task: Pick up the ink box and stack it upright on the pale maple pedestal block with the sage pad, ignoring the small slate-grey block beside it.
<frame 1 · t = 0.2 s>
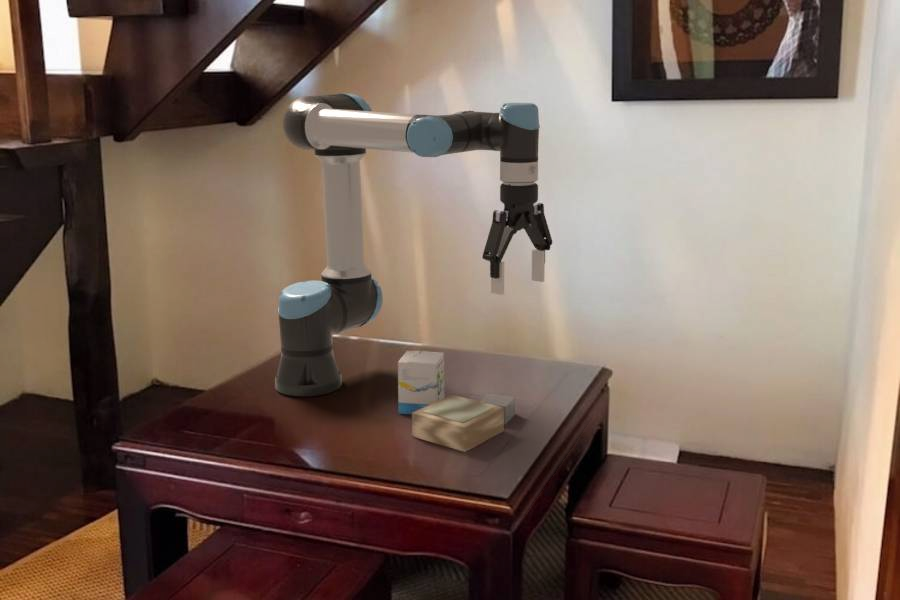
hand: (518, 287, 202), 27 cm above the table, fingers open, 13 cm apart
pedestal: (458, 433, 199), on the table
ink box: (421, 409, 213), on the table
slate block: (496, 418, 207), on the table
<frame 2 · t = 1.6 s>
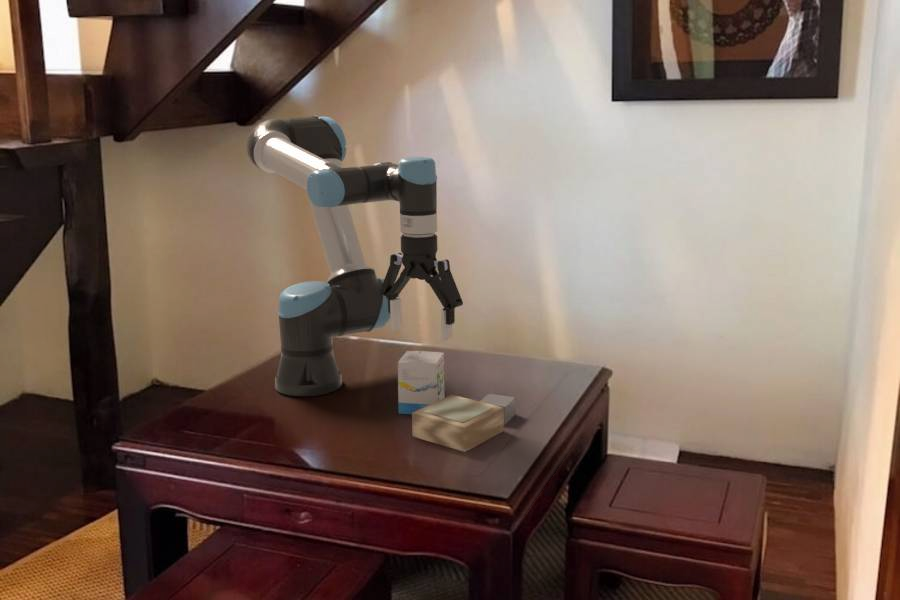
hand: (421, 334, 209), 17 cm above the table, fingers open, 13 cm apart
nothing on the table moved.
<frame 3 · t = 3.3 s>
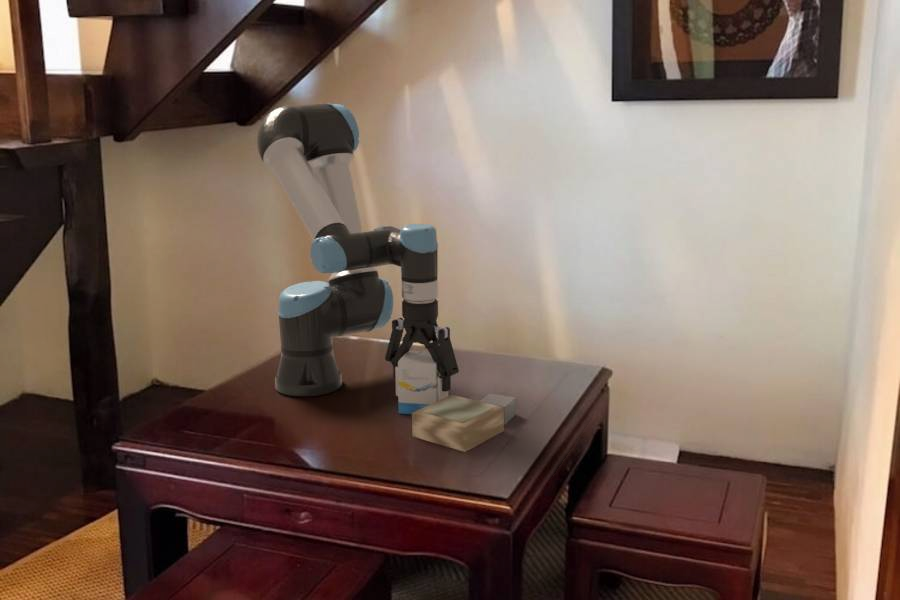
hand: (421, 399, 212), 2 cm above the table, fingers closed on ink box, 11 cm apart
ink box: (422, 409, 213), on the table, touching gripper
everything else where it was.
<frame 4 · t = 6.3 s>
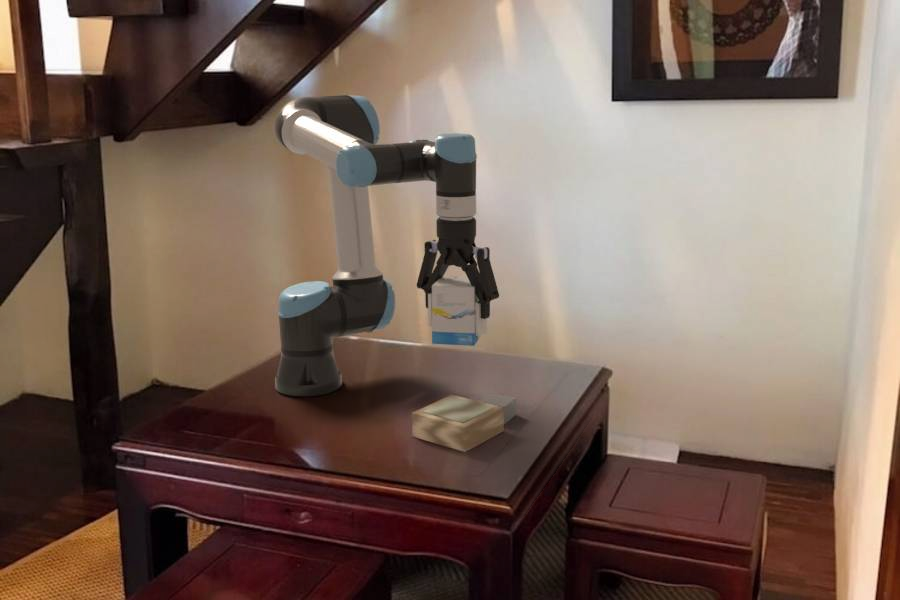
hand: (457, 329, 193), 22 cm above the table, fingers closed on ink box, 11 cm apart
ink box: (457, 340, 194), point 19 cm above the table, touching gripper
everything else where it was.
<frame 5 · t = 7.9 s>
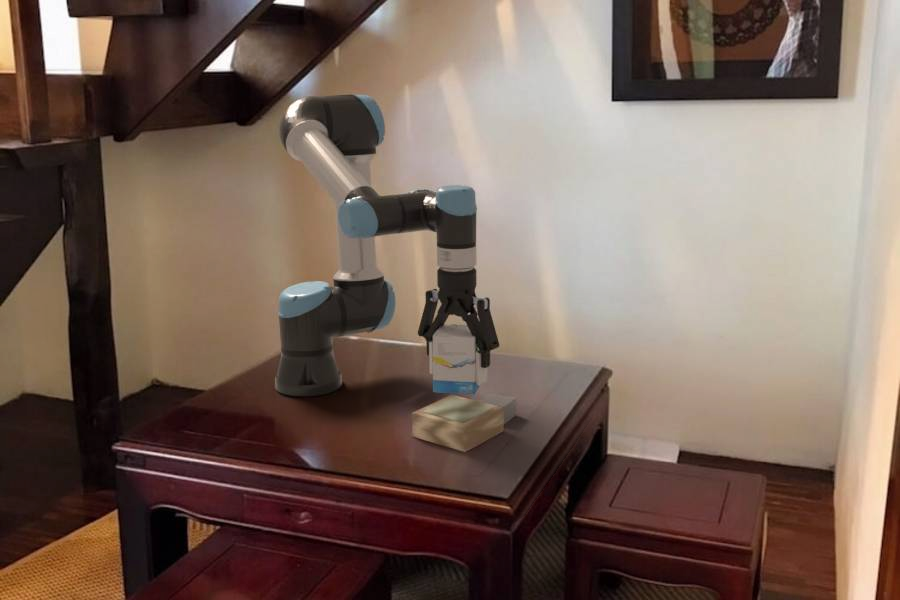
hand: (458, 377, 196), 12 cm above the table, fingers closed on ink box, 11 cm apart
ink box: (458, 387, 196), point 10 cm above the table, touching gripper
everything else where it was.
when the fingers open (8 cm above the table, at t = 9.2 s): ink box drops 1 cm, resting on pedestal.
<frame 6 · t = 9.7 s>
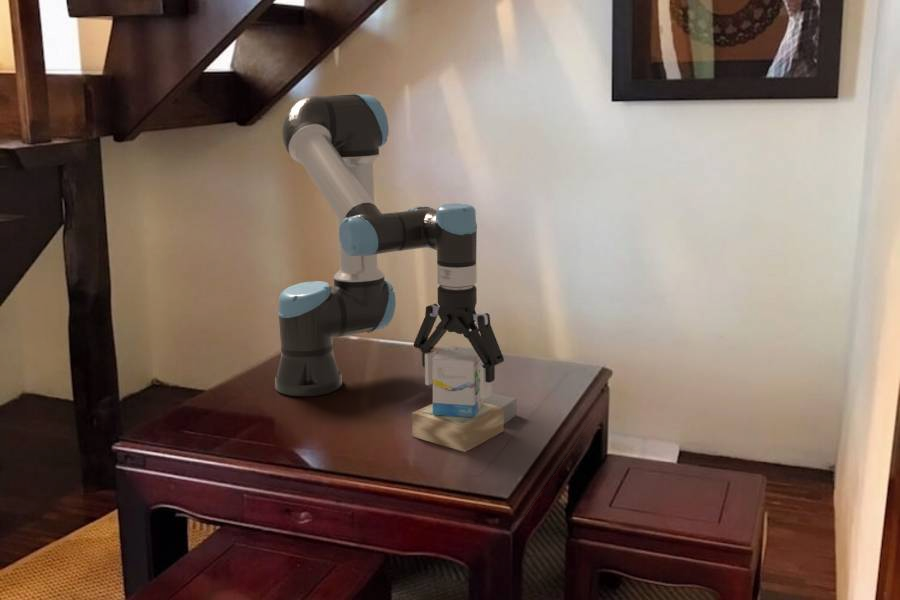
hand: (457, 390, 196), 9 cm above the table, fingers open, 13 cm apart
ink box: (458, 410, 197), point 5 cm above the table, touching pedestal
everything else where it was.
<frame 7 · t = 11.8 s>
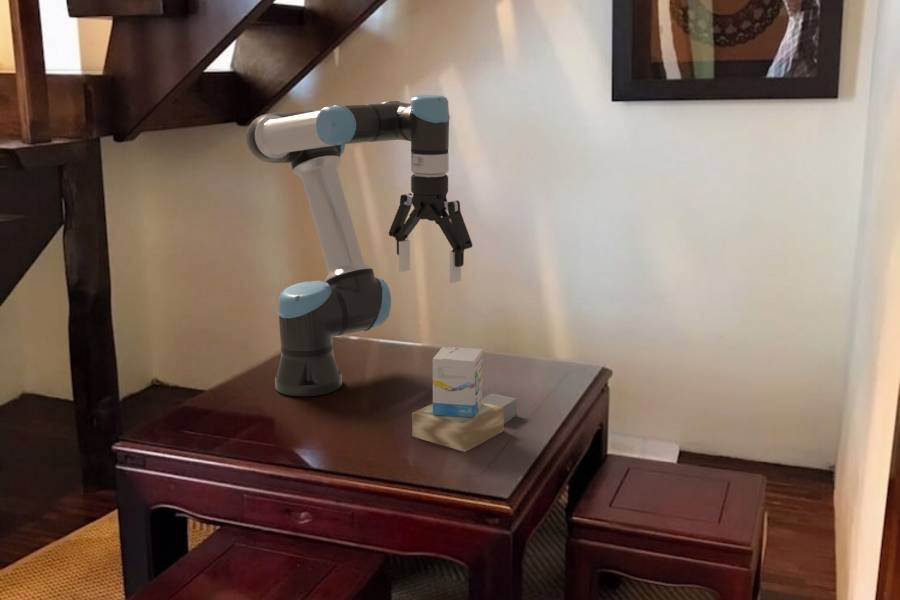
hand: (429, 276, 206), 29 cm above the table, fingers open, 13 cm apart
nothing on the table moved.
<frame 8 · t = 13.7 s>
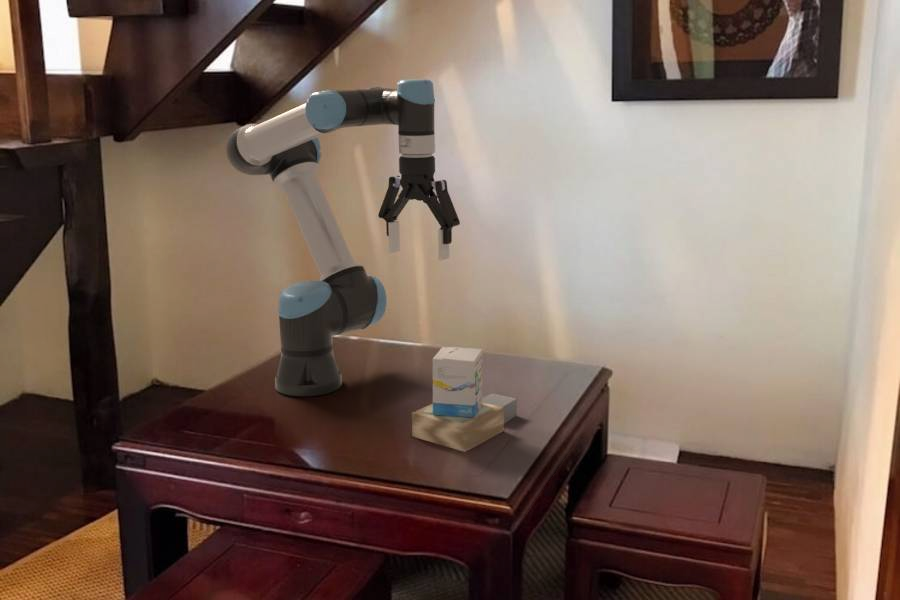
hand: (418, 255, 213), 32 cm above the table, fingers open, 13 cm apart
nothing on the table moved.
at the end: ink box inside the target area on the pedestal (0.0 cm from its centre), point 5.0 cm above the pedestal's base; ink box tilted 0°; the gripper is holding nothing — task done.
